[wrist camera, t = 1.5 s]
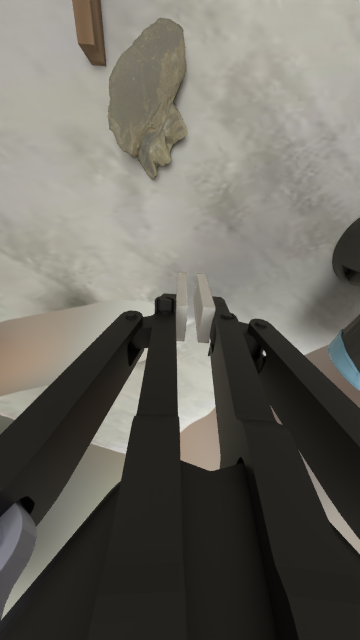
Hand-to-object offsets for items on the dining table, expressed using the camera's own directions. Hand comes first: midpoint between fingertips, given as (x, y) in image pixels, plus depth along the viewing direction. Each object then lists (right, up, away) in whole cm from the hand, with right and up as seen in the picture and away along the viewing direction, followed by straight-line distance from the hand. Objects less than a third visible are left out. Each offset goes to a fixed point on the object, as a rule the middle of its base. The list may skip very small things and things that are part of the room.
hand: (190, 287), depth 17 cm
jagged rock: (-4, +28, +12) cm, 31 cm away
